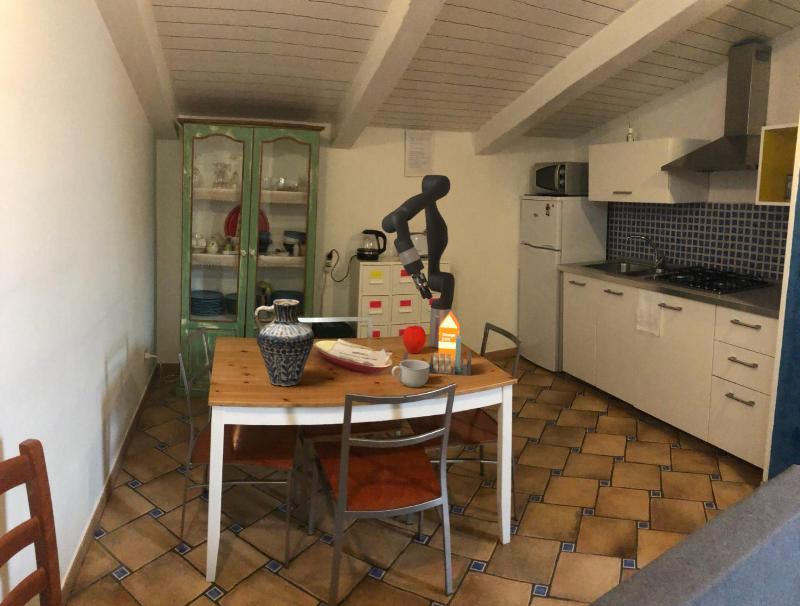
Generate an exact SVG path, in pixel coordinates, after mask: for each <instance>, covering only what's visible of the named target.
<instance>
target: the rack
mask: <svg viewBox="0 0 800 606" xmlns="http://www.w3.org/2000/svg"><path fill="white" fill-rule="evenodd" d="M408 353H409V352H404V353H403V357H402V360H401V362H402V361H404V360H409V359H408ZM466 355H467V356H466V365H465V364H464V357H460V372H455V361H454V357H452V361H451V369H450V373H445V369H444V373H439V368H438V372H433V358H434V355H431V356H430V363H428V362H427V363H428V364H429V365H430V367H429V374H431V375H447V376H448V375H450V376H467V377H468V376H469V377H471V372H472V369H471V368H472V351H471V350H467V354H466Z"/></svg>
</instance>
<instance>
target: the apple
mask: <svg viewBox="0 0 800 606" xmlns="http://www.w3.org/2000/svg"><path fill="white" fill-rule="evenodd" d="M426 340H427V335H426V331H425V329H424V328H423V327H422V326H421V325H416V324H415V325H409V326H407V327H406V328H405V329H404V331H403V334H402V341H403V345H404V348H405V349H406V352H407V353H409V354H418V353H420V352H421V351H422V349H423V348H424V346H425V345H426Z"/></svg>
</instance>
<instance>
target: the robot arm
mask: <svg viewBox="0 0 800 606" xmlns="http://www.w3.org/2000/svg"><path fill="white" fill-rule="evenodd" d="M450 191H451V181H450V178H449V177H448V176H446V175H444V174H443V175H442V174H426V175H424V177H423V178H422V179H421V192H420V193H418V194H416V195H413V196H411V197H409V198H408V199H406V200H405V201H404V202H403V203H402V204H400V206H398V207H397V208H396V209H394V210H393V211H391V212H390V213H388V214H387V215H386V216H384V218H383V219H382V220H381V228H382V230H383V232H385V233H386V234H393V233H394V234H395V233H396V238H395V239H394V240H393V244H394V245H393V246H394V247H395V250H396V252H397V253H398V257H399V260H400V263H401V264H402V266H403V269H404V271H405V273H406V275H407V276H411V279H412V281H413V283H414V285H415V287H416V288H415V289H416V290H417V291H419V293H420V295H421V298H422V299H423V300H425V299H427V300H431V299H432V298H434V297H433V295H432V292H436V293H439V294H440V295H439V296H440V297H438V298H437V299H433V300H432V301H431V302H430V320H429V321H430V322H429V347H432V348H435V349H436V348H437V349H439V327H440V324H441V323H442V321H443V320H444V319H445V317H446V316H447V315H448V314H449V312H450V311H451V312H452V307H453V306H452V305H453V302H454V295H455V286H456V285H455V284H456V280H455V276H454V274H453V273H452V272H450V271H449V272H446V271H441V268H440V267H441V259H442V256H443V254H444V252H445V250H446V248H447V247H448V244H449V231H448V225H447V222H446V221H445V219H444V217H443V216H442V214H441V213H440V211H439V208H438V205H437V201H439V200H441V199H443V198H445V197H446V196H447V195H448V194H449V192H450ZM423 210H424V215H425V216H424V217H425V231H426V234H425V235H426V244H427V278H426V274H425V273H424V272H421V271H422V270H424V269H425V265H424V262H423V261H422V259H421V257H420V254H419V252H418V250H417V248H416V247H415V245H414V242H413V240H412V238H411V237H412V236H411V231H410V227H409V221H411V220H412V219H413V218H415V217H416V216H417V215H418V214H419V213H420V212H422V211H423Z"/></svg>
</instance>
